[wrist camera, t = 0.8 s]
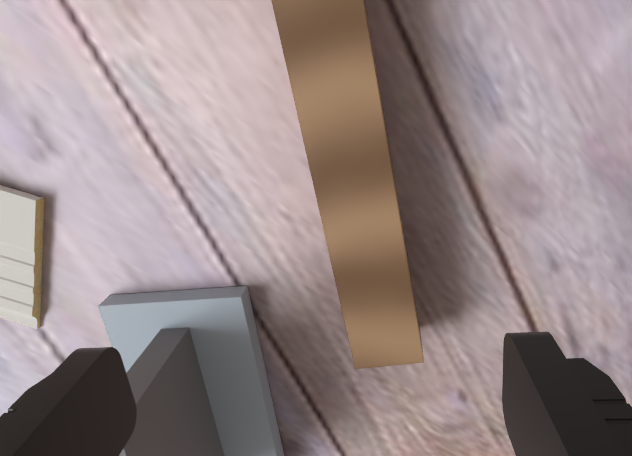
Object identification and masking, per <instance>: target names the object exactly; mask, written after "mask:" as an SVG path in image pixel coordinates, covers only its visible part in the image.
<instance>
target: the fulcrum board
mask: <svg viewBox="0 0 632 456" xmlns="http://www.w3.org/2000/svg"><path fill="white" fill-rule="evenodd" d="M98 308H99V311H100V313H101V316H102V319H103V322H104V325H105V328H106V331H107V334H108V336H109V339H110V342H111V345H112V347H113V348H115V349H117V350H118V351H119V353H120V355H121V358H122V361H123V364H124V367H125V371H126V374H127V377H128V380H129V383H130V387H131V390H132V393H133V396H134V400H135V403H136V408H137V418H136V424H135V428H134V431H133V433H132V435H131V437H130V439H129V440H128V442H127V443H126V445H125V447H124V448H123V450H122V452H121V453H120V455H119V456H284V452H283V447H282V442H281V438H280V433H279V429H278V424H277V419H276V415H275V410H274V406H273V401H272V397H271V392H270V387H269V383H268V378H267V374H266V369H265V364H264V360H263V355H262V351H261V346H260V342H259V337H258V332H257V328H256V323H255V319H254V314H253V309H252V305H251V300H250V296H249V291H248V287H247V286H236V287H221V288H206V289H191V290H176V291H161V292H147V293H132V294H117V295H109V296H108V297H107V298H106V299H105V300H104V301H103V302H102V303H101V304H100V305H99V306H98Z"/></svg>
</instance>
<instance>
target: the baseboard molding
mask: <svg viewBox="0 0 632 456" xmlns="http://www.w3.org/2000/svg"><path fill="white" fill-rule="evenodd" d="M44 205H45V198H42V197H39V196H36V195H32V194H29V193H26V192H22V191H19V190H16V189H12V188H9V187H6V186H2V185H0V318H3V319H6V320H9V321H13V322H16V323H19V324H22V325H25V326H29V327H32V328H35V329H38V328H39V327H40V317H41V289H42V261H43V233H44Z"/></svg>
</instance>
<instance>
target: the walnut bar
mask: <svg viewBox="0 0 632 456" xmlns="http://www.w3.org/2000/svg"><path fill="white" fill-rule="evenodd" d="M272 4H273V9H274V13H275V18H276V22H277V26H278V31H279V35H280V40H281V44H282V48H283V53H284V57H285V62H286V66H287V70H288V75H289V79H290V84H291V88H292V92H293V97H294V101H295V106H296V110H297V114H298V119H299V123H300V128H301V132H302V136H303V141H304V145H305V150H306V154H307V158H308V163H309V167H310V172H311V176H312V180H313V185H314V189H315V194H316V198H317V202H318V207H319V211H320V216H321V220H322V224H323V229H324V233H325V238H326V242H327V246H328V251H329V255H330V260H331V264H332V268H333V273H334V277H335V282H336V286H337V290H338V295H339V299H340V304H341V308H342V312H343V317H344V321H345V326H346V330H347V334H348V339H349V343H350V348H351V352H352V356H353V361H354V365H355V369H360V368H371V367H382V366H392V365H403V364H413V363H424V359H423V351H422V343H421V335H420V327H419V321H418V315H417V309H416V303H415V297H414V291H413V285H412V279H411V273H410V267H409V261H408V255H407V249H406V243H405V237H404V231H403V225H402V219H401V213H400V207H399V201H398V195H397V189H396V183H395V177H394V171H393V165H392V159H391V153H390V147H389V141H388V135H387V129H386V123H385V117H384V111H383V105H382V99H381V93H380V87H379V81H378V75H377V69H376V63H375V57H374V51H373V45H372V39H371V33H370V27H369V21H368V15H367V9H366V3H365V0H272Z"/></svg>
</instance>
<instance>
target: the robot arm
mask: <svg viewBox="0 0 632 456" xmlns="http://www.w3.org/2000/svg"><path fill="white" fill-rule="evenodd" d="M502 403H503V413H504V419H505V424H506V428H507V432H508V435H509V438H510V440H511V443H512V446H513V449H514V452H515V454H516V456H632V407H631V406H630V404H627V403H626V399H625V397H624V396H623V395H622V393H621V392H620V391H619V389H618V388H617V386H616V385H615V384H614V382H613V381H612V380H611V378H610V377H609V376H608V375H606V374H605V373H604V372H602V371H601V370H599V369H598V368H597V367H595V366H594V365H592V364H591V363H590V362H588V361H587V360H585V359H584V358H572V359H566V357H565V356H564V354H563V353H562V351H561V349H560V348H559V346H558V345H557V343H556V341H555V340H554V338H553V337H552V335H551V334H550V333H549V332H526V333H506V335H505V337H504V349H503V389H502ZM136 418H137V408H136V403H135V400H134V396H133V393H132V390H131V387H130V383H129V380H128V377H127V374H126V371H125V367H124V364H123V361H122V358H121V355H120V353H119V351H118V350H117V349H115V348H113V347H106V348H80V349H77V350H75V351H74V352H73V353H71V354H70V355H69V357H68V358H67V359H66V360H65V361H64V362H63V363H62V364H61V365H60V366H59V367H58V368H57V369H56V370H55V371H54V372H53V373H52V374H50V375H49V376H47V377H46V378H44V379H43V380H41V381H40V382H38V383H37V384H35V385H34V386H32V387H31V388H29V389H28V390H27V391H26V392H25V393H24V394H23V395H22V396H21V397H20V398H19V399H18V400H17V401H16V402H15V403H14V404H13V405H12V406H11V407H10V408H9V409H8V413H4V414H3V415H2V416H1V417H0V456H119V455H120V453H121V452H122V450H123V448H124V447H125V445H126V443H127V442H128V440H129V439H130V437H131V435H132V433H133V431H134V428H135V424H136Z"/></svg>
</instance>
